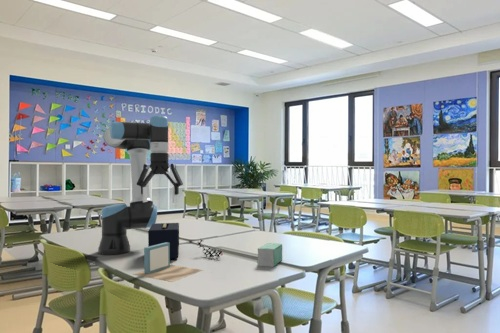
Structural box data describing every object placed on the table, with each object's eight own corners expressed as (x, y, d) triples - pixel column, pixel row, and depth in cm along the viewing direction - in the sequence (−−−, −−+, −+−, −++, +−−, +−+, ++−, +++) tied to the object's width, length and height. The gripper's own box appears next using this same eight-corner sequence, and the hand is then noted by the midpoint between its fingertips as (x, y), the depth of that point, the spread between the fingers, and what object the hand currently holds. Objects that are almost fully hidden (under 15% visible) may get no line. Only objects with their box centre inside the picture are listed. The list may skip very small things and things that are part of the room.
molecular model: (219, 260, 171) (219, 242, 171) (194, 256, 180) (194, 238, 180) (227, 258, 176) (228, 240, 176) (203, 254, 185) (203, 237, 185)
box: (282, 259, 172) (282, 243, 172) (274, 267, 160) (273, 249, 160) (267, 258, 175) (266, 242, 175) (257, 266, 162) (257, 248, 162)
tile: (144, 273, 149) (144, 247, 149) (166, 266, 160) (165, 242, 160) (148, 274, 148) (148, 248, 148) (170, 267, 159) (169, 242, 159)
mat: (133, 275, 148) (133, 274, 148) (165, 265, 164) (165, 264, 164) (172, 283, 138) (172, 281, 138) (203, 271, 153) (203, 270, 153)
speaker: (178, 261, 171) (178, 227, 171) (148, 263, 169) (148, 228, 169) (179, 251, 192) (178, 221, 192) (152, 252, 190) (152, 221, 190)
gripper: (128, 152, 164) (128, 202, 164) (183, 151, 158) (183, 203, 158) (137, 153, 171) (137, 201, 171) (190, 152, 165) (190, 201, 165)
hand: (159, 202), depth 165 cm, fingers open, 13 cm apart
